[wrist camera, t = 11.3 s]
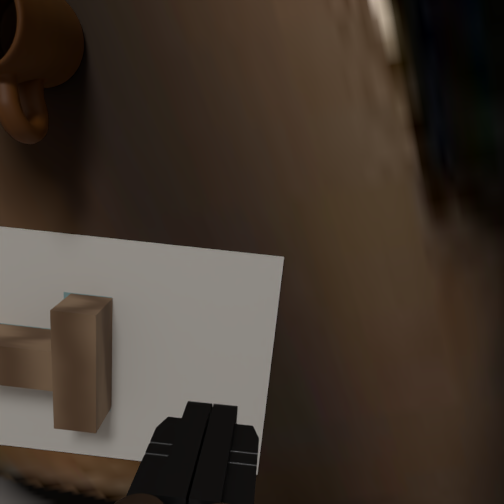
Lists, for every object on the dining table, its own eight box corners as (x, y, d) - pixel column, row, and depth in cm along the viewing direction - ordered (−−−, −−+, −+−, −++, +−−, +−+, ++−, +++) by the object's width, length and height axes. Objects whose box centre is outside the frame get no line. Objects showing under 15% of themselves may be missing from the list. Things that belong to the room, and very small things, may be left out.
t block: (112, 298, 41) (95, 315, 37) (111, 407, 45) (96, 433, 41) (-13, 284, 41) (-42, 300, 38) (-5, 393, 45) (-31, 418, 41)
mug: (116, 130, 37) (66, 131, 28) (35, 151, 38) (-40, 158, 29) (69, -24, 34) (-4, -79, 25) (-19, 2, 35) (-120, -42, 26)
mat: (283, 256, 40) (284, 257, 39) (257, 473, 46) (257, 474, 46) (-62, 219, 40) (-64, 220, 40) (-40, 438, 47) (-41, 439, 47)
